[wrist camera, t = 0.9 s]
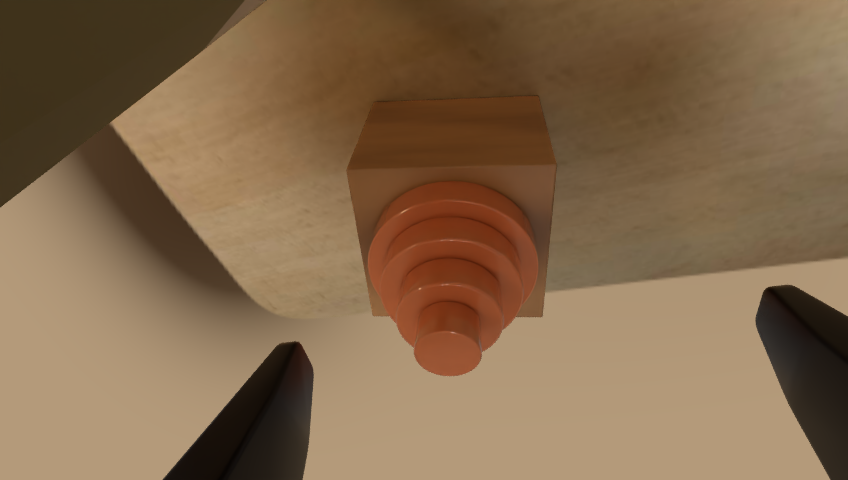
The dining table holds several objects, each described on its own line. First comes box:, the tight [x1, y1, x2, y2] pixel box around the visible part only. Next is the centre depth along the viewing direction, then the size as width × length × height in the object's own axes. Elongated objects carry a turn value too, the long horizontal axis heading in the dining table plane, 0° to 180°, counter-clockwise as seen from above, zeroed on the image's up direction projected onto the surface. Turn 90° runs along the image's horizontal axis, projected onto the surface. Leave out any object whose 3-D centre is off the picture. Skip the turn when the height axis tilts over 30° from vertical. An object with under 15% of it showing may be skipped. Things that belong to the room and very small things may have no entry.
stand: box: [346, 96, 557, 317], centre depth 21 cm, size 7×7×6 cm
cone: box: [368, 181, 539, 376], centre depth 17 cm, size 6×6×5 cm
